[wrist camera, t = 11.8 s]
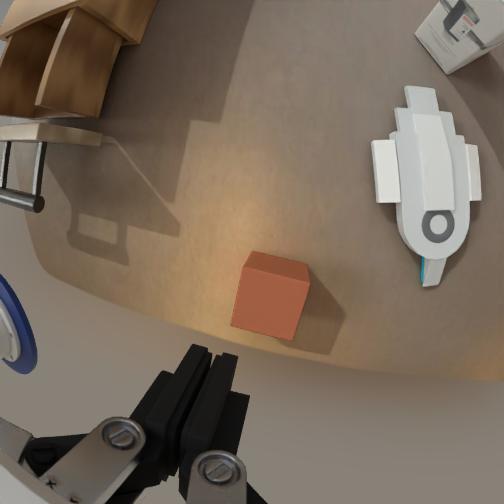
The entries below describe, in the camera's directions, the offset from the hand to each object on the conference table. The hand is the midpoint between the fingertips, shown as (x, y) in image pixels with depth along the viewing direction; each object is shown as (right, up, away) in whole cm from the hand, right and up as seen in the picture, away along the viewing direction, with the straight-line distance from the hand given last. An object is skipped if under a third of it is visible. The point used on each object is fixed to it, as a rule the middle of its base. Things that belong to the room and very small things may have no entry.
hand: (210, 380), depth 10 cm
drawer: (-16, +19, +11) cm, 27 cm away
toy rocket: (+15, +10, +10) cm, 21 cm away
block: (+3, +2, +13) cm, 13 cm away
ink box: (+20, +24, +6) cm, 32 cm away
